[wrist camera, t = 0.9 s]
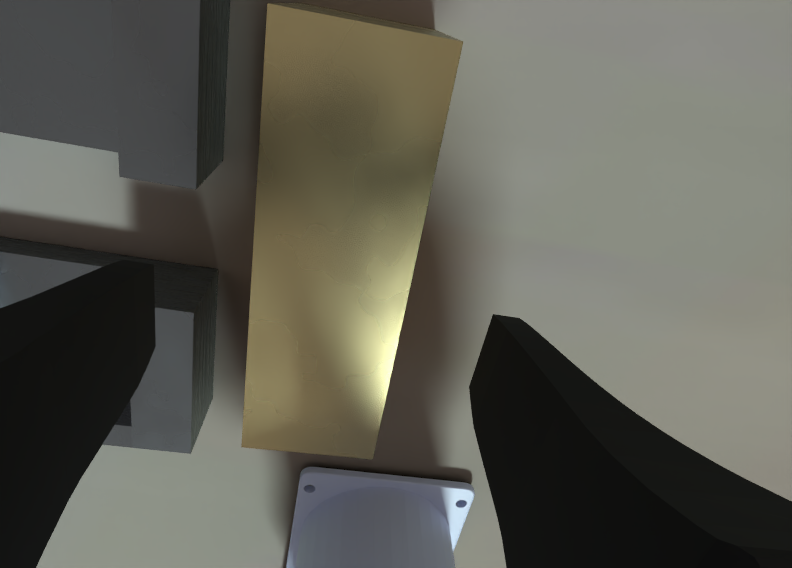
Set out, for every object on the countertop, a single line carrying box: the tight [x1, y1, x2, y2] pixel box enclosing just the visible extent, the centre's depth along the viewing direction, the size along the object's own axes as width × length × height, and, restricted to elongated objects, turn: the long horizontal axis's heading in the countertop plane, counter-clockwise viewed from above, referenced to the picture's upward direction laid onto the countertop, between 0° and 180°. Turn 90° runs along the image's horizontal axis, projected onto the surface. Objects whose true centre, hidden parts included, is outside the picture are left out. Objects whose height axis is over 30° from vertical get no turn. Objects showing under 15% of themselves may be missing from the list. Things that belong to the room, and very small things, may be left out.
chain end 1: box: [0, 0, 230, 189], centre depth 14 cm, size 6×10×3 cm, turn 79°
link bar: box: [242, 3, 463, 460], centre depth 16 cm, size 12×4×6 cm, turn 170°
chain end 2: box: [0, 237, 218, 454], centre depth 18 cm, size 6×10×3 cm, turn 79°
